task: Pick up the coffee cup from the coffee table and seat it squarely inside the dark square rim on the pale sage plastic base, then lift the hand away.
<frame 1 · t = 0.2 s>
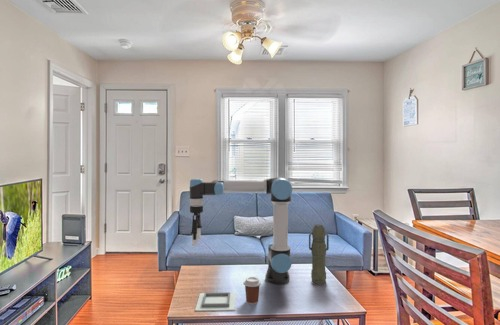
hand: (196, 242, 184), 28 cm above the table, tool pointing down, fingers open, 13 cm apart
square seat: (216, 302, 168), on the table
thermos: (318, 282, 195), on the table
coffee cup: (252, 301, 168), on the table
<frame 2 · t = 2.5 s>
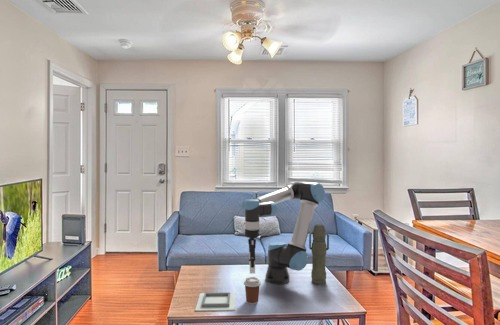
hand: (251, 268, 168), 18 cm above the table, tool pointing down, fingers open, 13 cm apart
nothing on the table moved.
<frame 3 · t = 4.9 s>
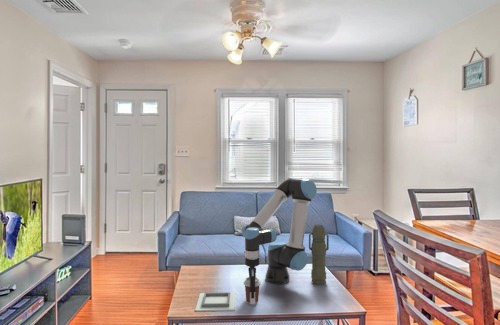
hand: (252, 299, 168), 1 cm above the table, tool pointing down, fingers closed on coffee cup, 9 cm apart
coffee cup: (252, 301, 168), on the table, touching gripper
everything else where it was.
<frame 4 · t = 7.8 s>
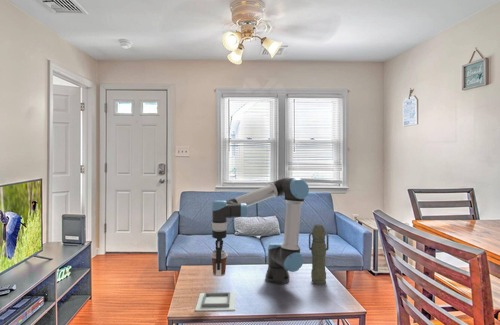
hand: (219, 272, 168), 16 cm above the table, tool pointing down, fingers closed on coffee cup, 9 cm apart
coffee cup: (219, 274, 168), point 15 cm above the table, touching gripper
everything else where it was.
when the fingers open (3 cm above the table, at t = 10.8 s): coffee cup drops 2 cm, resting on square seat.
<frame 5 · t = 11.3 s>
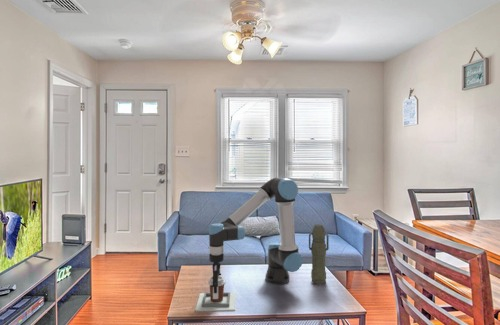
hand: (216, 293, 168), 5 cm above the table, tool pointing down, fingers open, 13 cm apart
coffee cup: (216, 301, 168), resting on square seat
everything else where it was.
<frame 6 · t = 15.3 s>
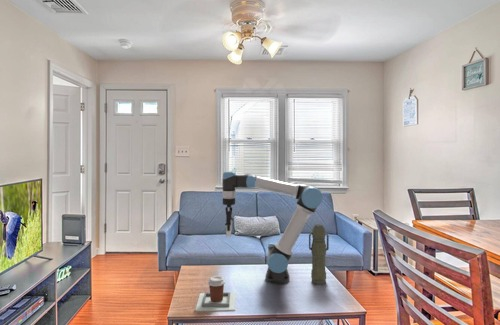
hand: (229, 233, 188), 32 cm above the table, tool pointing down, fingers open, 13 cm apart
nothing on the table moved.
at the end: coffee cup 0.0 cm off-centre on the square seat, point 0.4 cm above the square seat's base; coffee cup tilted 0°; the gripper is holding nothing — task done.
